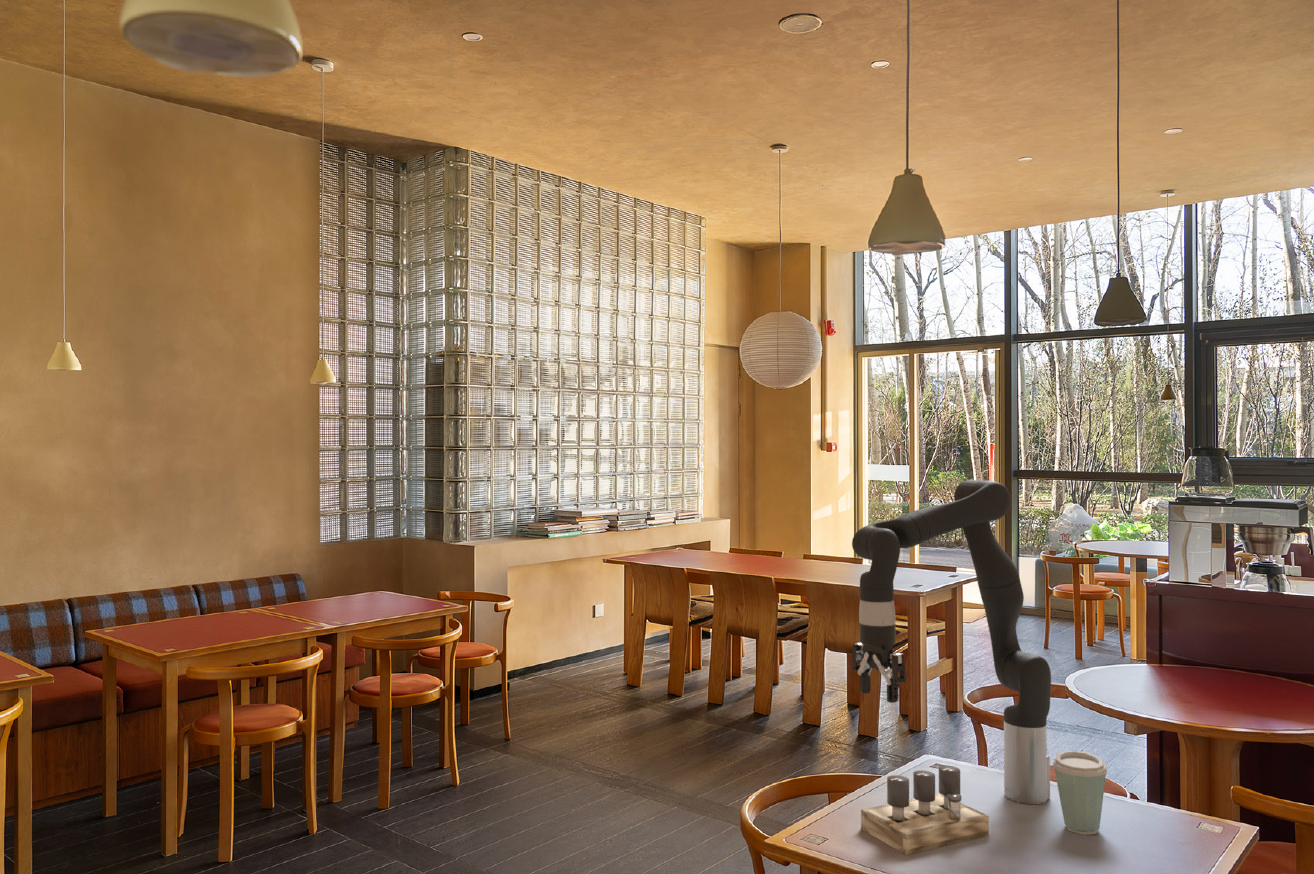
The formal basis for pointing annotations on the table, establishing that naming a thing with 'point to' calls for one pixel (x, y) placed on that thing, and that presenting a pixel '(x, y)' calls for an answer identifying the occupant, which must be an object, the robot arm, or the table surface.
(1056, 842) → the table surface
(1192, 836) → the table surface
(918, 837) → the mount
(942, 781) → the knob
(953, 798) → the capped glass vial
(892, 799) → the knob
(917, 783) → the knob mid
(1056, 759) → the disposable coffee cup
